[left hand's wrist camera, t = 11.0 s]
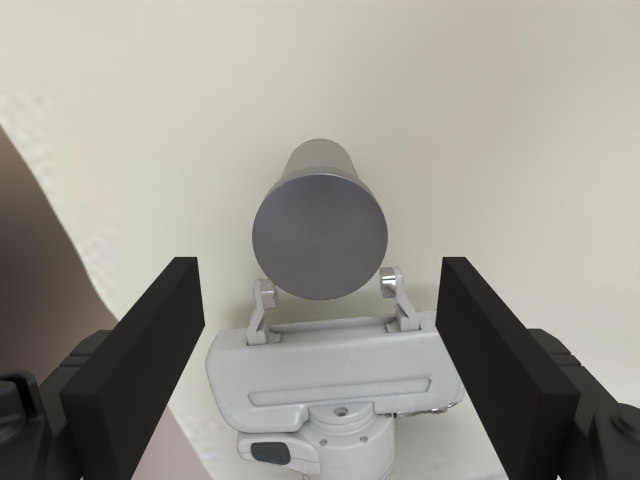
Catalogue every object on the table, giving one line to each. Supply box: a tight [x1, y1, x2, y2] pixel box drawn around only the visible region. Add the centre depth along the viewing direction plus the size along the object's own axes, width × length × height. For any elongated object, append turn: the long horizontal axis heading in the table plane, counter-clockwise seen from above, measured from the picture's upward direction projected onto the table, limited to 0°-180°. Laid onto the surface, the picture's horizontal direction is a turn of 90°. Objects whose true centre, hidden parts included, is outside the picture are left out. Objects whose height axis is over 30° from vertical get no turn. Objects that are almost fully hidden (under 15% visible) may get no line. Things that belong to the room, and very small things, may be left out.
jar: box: [281, 139, 359, 179], centre depth 27 cm, size 6×6×16 cm
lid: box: [252, 166, 388, 300], centre depth 20 cm, size 6×6×2 cm
